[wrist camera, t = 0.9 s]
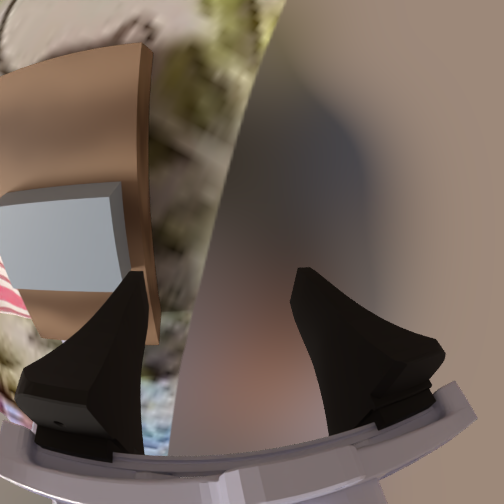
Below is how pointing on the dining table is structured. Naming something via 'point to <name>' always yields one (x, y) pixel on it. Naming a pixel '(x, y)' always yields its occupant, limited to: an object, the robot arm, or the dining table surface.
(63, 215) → the blue-grey tile
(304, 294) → the robot arm
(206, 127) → the dining table surface
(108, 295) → the board
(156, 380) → the dining table surface
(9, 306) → the dish towel
